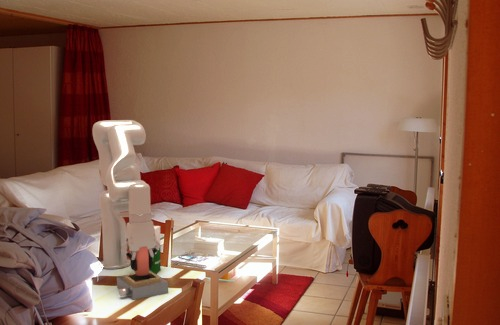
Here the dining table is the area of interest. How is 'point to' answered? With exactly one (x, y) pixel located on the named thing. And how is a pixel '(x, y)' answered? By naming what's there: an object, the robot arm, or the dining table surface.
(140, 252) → the oil can
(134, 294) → the grey square socket base
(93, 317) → the dining table surface
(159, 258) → the milk carton
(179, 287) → the dining table surface
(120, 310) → the dining table surface
